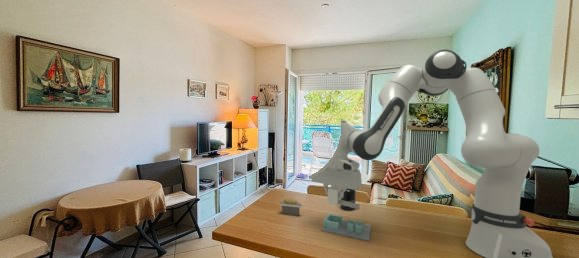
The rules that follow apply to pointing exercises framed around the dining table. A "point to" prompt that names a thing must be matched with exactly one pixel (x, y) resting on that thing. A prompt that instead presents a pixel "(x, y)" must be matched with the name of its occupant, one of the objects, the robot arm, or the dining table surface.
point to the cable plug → (335, 200)
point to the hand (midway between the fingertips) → (334, 196)
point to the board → (346, 227)
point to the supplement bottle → (348, 198)
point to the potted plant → (290, 207)
